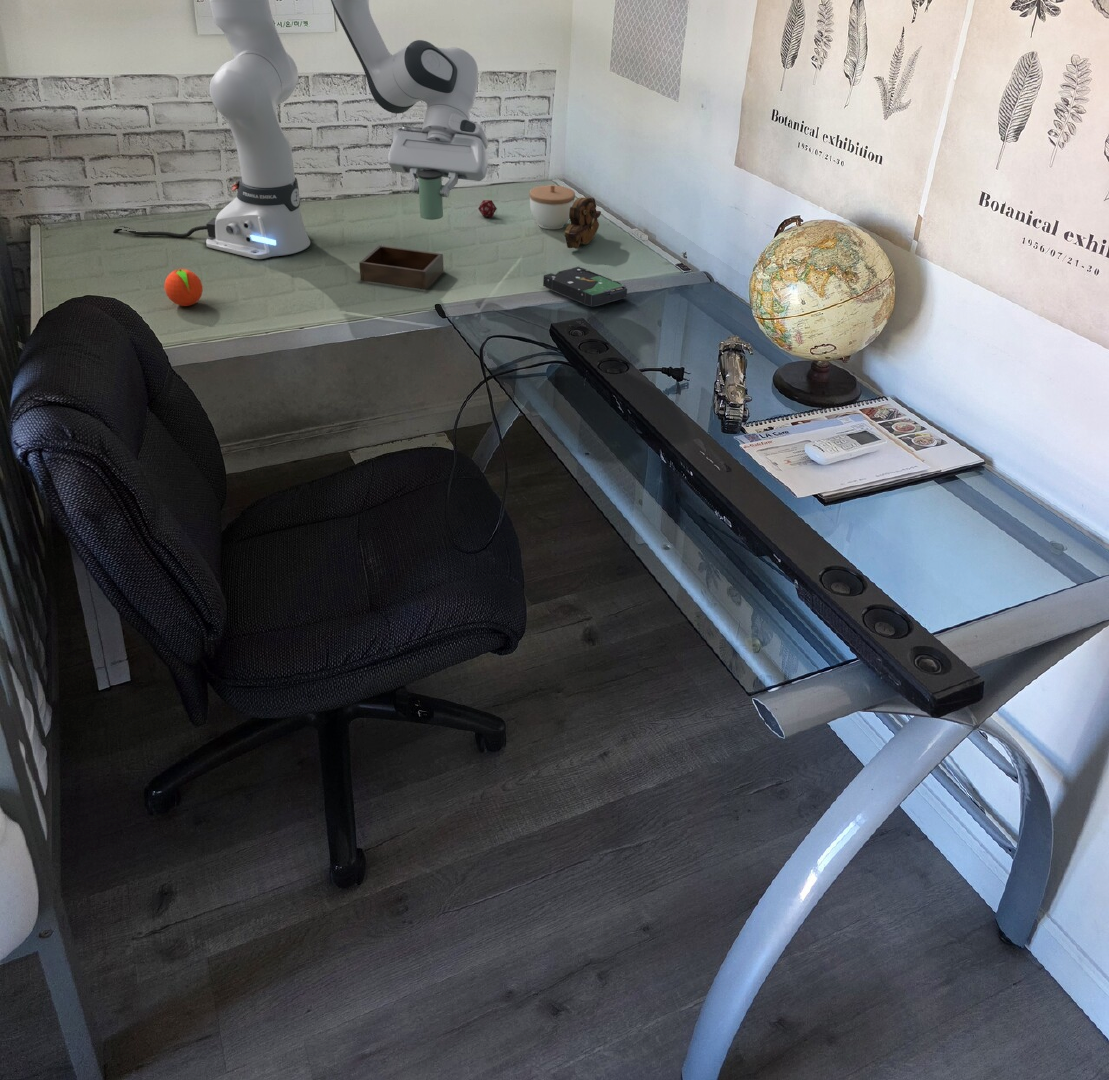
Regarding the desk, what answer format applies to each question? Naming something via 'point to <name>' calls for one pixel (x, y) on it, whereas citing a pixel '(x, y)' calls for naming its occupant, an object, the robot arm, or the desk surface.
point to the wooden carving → (582, 222)
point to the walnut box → (401, 267)
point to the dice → (487, 208)
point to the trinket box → (551, 205)
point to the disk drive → (585, 286)
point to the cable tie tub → (430, 194)
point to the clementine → (183, 287)
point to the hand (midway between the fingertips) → (429, 194)
